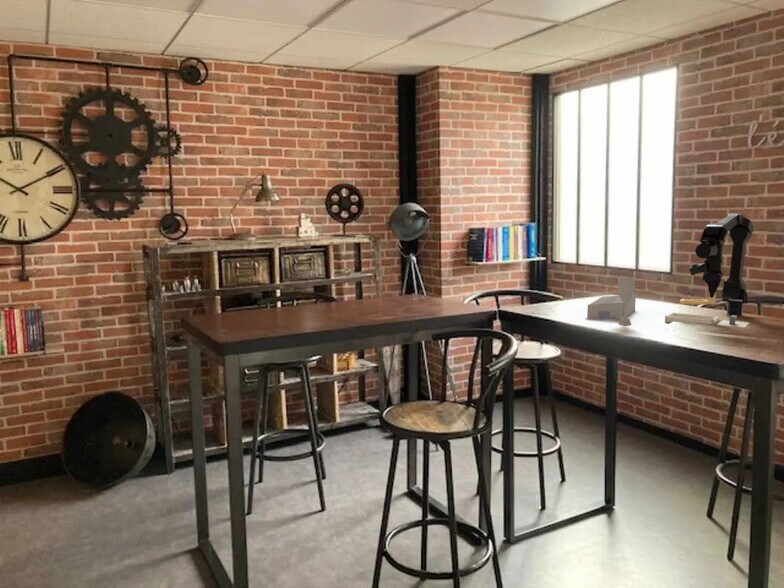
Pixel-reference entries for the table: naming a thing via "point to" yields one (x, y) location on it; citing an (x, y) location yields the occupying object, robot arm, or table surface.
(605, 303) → the warehouse
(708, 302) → the tan notched block
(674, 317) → the tray
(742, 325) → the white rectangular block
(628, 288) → the chalice
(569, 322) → the table surface
